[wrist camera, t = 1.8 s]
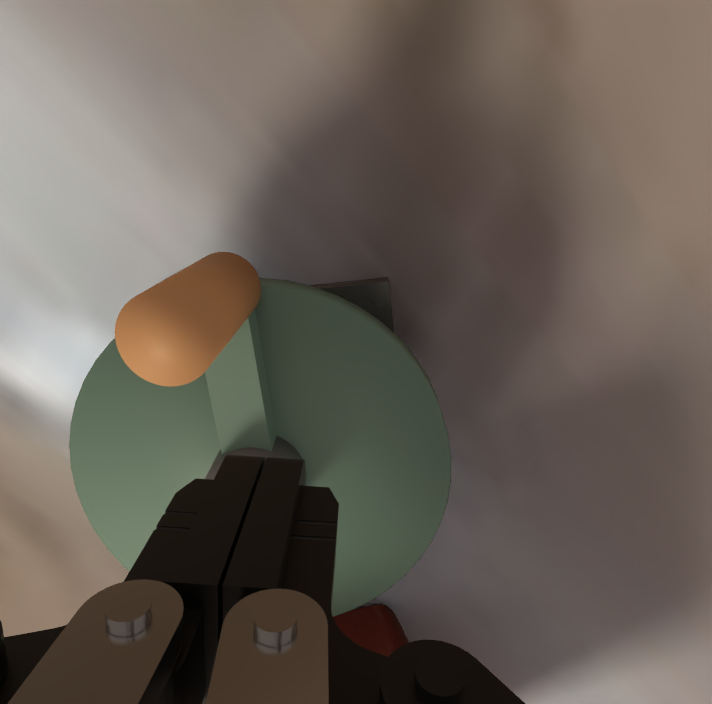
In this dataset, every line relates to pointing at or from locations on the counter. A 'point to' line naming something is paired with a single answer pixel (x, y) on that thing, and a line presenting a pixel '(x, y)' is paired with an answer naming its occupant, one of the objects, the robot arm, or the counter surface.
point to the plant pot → (373, 628)
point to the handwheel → (263, 415)
